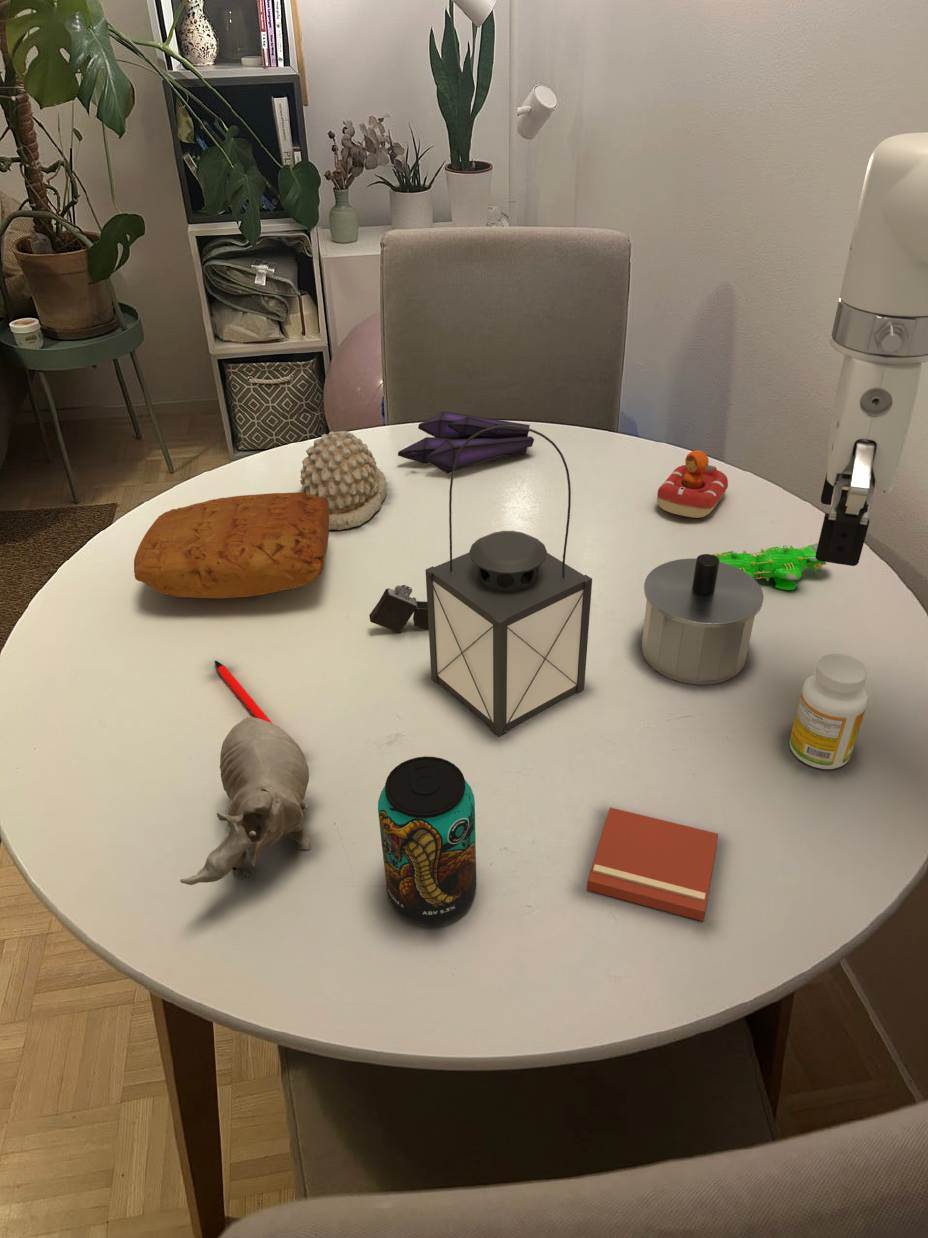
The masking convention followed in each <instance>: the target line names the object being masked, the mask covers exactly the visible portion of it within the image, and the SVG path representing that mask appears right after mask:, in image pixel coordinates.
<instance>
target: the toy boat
mask: <svg viewBox="0 0 928 1238" xmlns="http://www.w3.org/2000/svg"><path fill="white" fill-rule="evenodd" d="M709 461H710V460H709V457H708V455H707V453H705V452H704V451H703V450H699V449H698V450H697V449H696V450H692V451H690V452H689V453H688V454H687V455H686V456H685V462H684V463H685V464H682V465H679V466H678V467H676V468H675V469H674V470H673V471H672V472H671V473H670V475H669V476H668V477H667V478H666V480H665V481H664V482H663V483H662V484H661V485H660V486H659V488H658V490H657V496H656V503H657V505H658V506H659V508H660V509H662V510H664V511H666V512H667V513H670V514H674V515H678V516H682V517H688V518H694V519H695V518H697V519H699V518H704V517H706V516H708V515H709V514H710V513H712V511H714V508H715V507H716V506H717V504H719V502H720V501H721V499H722V498H723V496H724V495H725V494H726V491H727V489H728V487H729V480H728V477H727V475H726V474H725V473H724V472H722V471H720V470H719V469H718V468H717V467H716V466H714V465H709V463H710V462H709Z"/></svg>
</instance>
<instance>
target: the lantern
mask: <svg viewBox="0 0 928 1238" xmlns="http://www.w3.org/2000/svg"><path fill="white" fill-rule="evenodd" d="M497 428H518V429H523V430H528V431H529V432H531V433H534V434H535V435H537V436H540V437H542V438H544V439H545V440H546V441H547V442H549V443H550V444H551V445H552V446H553V447H554V448H555V450H556V451H557V453H558V454H559V457H560V458H561V460H562V462H563V466H564V468H565V474H566V480H567V491H568V492H567V493H568V495H567V497H568V498H567V499H568V500H567V518H566V527H565V535H564V543H563V555H562V560H560V559H559V558H557V557H555V556H553V555H552V554H550V553H549V552H548V550H547V548H546V545H545V544H544V543H543V542H542V541H541V540H539V539H538V538H536V537H534V536H532V535H529V534H527V533H525V532H521V531H516V530H500V531H493V532H491V533H489V534H487V535H484V536H482V537H480V538H478V539H477V540H475V542H474V543H472V544H471V546H470V548H469V551H468V552H466V553H464V554H462V555H460V556H457V557H454V558H453V534H452V533H453V529H452V527H453V525H452V516H453V515H452V513H453V512H452V502H453V500H452V499H453V496H452V495H453V485H454V484H453V483H454V475H455V472H456V471H455V467H456V462H457V460H458V458H459V456H460V453H461V451H462V449H463V448H464V447H465V446H466V445H467V444H468V442H469V441H470V440H471V439H472V438H474V437H476V436H477V435H479V434H481V433H483V432H485V431H489V430H492V429H497ZM454 471H455V472H454ZM571 487H572V486H571V478H570V472H569V468H568V464H567V461H566V459H565V457H564V454H563V453H562V451H561V450H560V448H559V447H558V446H557V445H556V443H555V442H553V440H552V439H550V438H549V437H548V436H546V435H545V434H543V433H541V432H539V431H537V430H535V429H533V428H530V427H529V428H526V427H521V426H514V425H504V426H494V427H491V428H487V429H484V430H481V431H479V432H478V433H476V434H475V435H473V436H471V437H470V438H469V439H468V440H467V441H466V442H465V443H464V445H463V446H462V447H461V448H460V450H459V452H458V455H457V457H456V459H455V461H454V465H453V469H452V473H450V482H449V493H448V494H449V495H448V496H449V497H448V499H449V500H448V501H449V502H448V514H449V515H448V523H449V527H448V528H449V529H448V530H449V560H447V561H445V562H443V563H441V564H438V565H436V566H430V567H428V568H426V569H425V583H426V584H425V587H426V602H427V607H428V625H429V629H428V640H429V660H430V678H431V680H432V681H433V682H434V683H436V684H439V685H440V686H441V687H443V688H444V690H446V691H447V692H448V693H450V695H452V696H453V697H454V698H455V699H457V700H458V701H459V702H460V703H461V704H463V705H464V706H465V707H466V708H467V709H468V710H470V711H471V712H472V713H473V714H474V715H476V716H477V717H478V718H479V719H481V721H483V722H484V723H485V724H486V725H488V727H489V728H491V729H493V730H492V731H493V733H494V734H496V735H497V737H501V736H503V735H505V734H506V733H507V731H510V729H513V728H515V727H517V726H518V725H520V724H522V723H523V722H525V721H527V720H529V719H531V718H532V717H534V716H536V715H538V714H539V713H541V712H543V711H545V710H547V709H549V708H550V707H552V706H554V705H555V704H556V705H557V704H558V703H559V702H561V701H563V700H565V699H567V698H568V697H570V696H572V695H574V694H575V693H577V694H578V693H580V692H582V691H584V690H585V685H586V684H585V683H586V669H587V668H586V667H587V658H588V657H587V656H588V643H589V642H588V641H589V629H590V617H591V616H590V614H591V604H592V603H591V601H592V591H593V589H592V588H593V586H592V585H593V578H592V577H591V576H589V575H587V574H583V573H581V572H579V571H578V570H577V569H575V568H573V567H571V566H570V565H568V564H567V563H566V555H567V554H566V553H567V545H568V537H569V526H570V521H571V520H570V519H571V504H572V503H571V502H572V498H571V497H572V495H571V494H572V488H571Z"/></svg>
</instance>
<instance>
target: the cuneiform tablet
mask: <svg viewBox="0 0 928 1238" xmlns="http://www.w3.org/2000/svg"><path fill="white" fill-rule="evenodd" d="M329 534H330V530H329V503H328V499H327V498H324V497H318V496H317V495H313V494H304V493H301V492H300V491H298V492H271V493H258V494H245V495H235V496H228V497H219V498H214V499H209V500H206V501H202V502H198V503H193V504H190V505H188V506H182V507H178V508H172V509H170V510H167V511H165V512H163V513H162V514H161V515H159V516H158V517H157V518H156V519H155V520H154V522H153V523H152V524H151V526H150V527H149V528H148V530H147V531H146V533H145V534H144V535H143V538H142V539H141V541H140V544H139V545H138V547H137V550H136V553H135V555H134V558H133V573H134V580H136V581H137V582H141V583H143V584H145V586H148V587H149V588H151V589H153V590H155V591H157V593H160V594H163V595H166V594H167V595H170V596H174V597H176V598H196V599H230V598H248V597H256V596H260V595H267V594H273V593H277V592H282V591H287V590H293V589H296V588H300V587H301V586H303V585H307V584H310V583H312V582H314V581H316V580H318V578H319V577H320V575H321V574H322V571H323V569H324V564H325V560H326V555H327V553H328V544H329V537H330V536H329Z"/></svg>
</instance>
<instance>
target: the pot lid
mask: <svg viewBox="0 0 928 1238" xmlns="http://www.w3.org/2000/svg"><path fill="white" fill-rule="evenodd" d="M714 555H715V554H714ZM714 555H712V554H710V553H703V554H702V553H701V554H700V555H698V556H697V557H696V558H681V559H680V558H679V559H675V560H671V561H667V562H664V563H662V564H660V565H658V566H656V567H654V568H653V569H652V570H651V571H650V572H649V573H648V574H647V575H646V578H645V580H644V583H643V593H644V596H645V599H646V601H647V600H648V602H649V603H650V605H651V606H652V607H653V608H654V609H656V610H657V611H658V612H660V613H661V614H663V615H664V616H666V617H668V618H670V619H672V620H675V621H678V622H681V623H684V624H687V625H692V626H698V627H707V628H720V627H729V626H734V625H738V624H741V623H744V622H746V621H748V620H750V619H751V618H753V617H754V616H757V615H758V614H759V612H761V609H762V606H763V603H764V591H763V589H762V587H761V585H760V584H759V583H758V581H757V579H754V578H755V577H754V578H753V577H751V576H750V575H749V574H747V573H746V572H744V571H742V570H741V569H739V568H736V567H734V566H732V565H729V564H726V563H722V562H719V559H718V558H717V557H716V556H717V555H716V556H714ZM754 618H755V617H754Z"/></svg>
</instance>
